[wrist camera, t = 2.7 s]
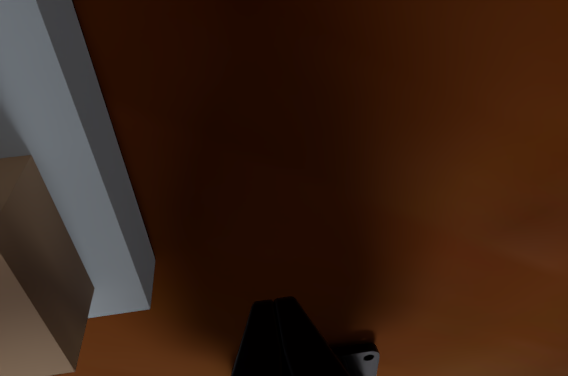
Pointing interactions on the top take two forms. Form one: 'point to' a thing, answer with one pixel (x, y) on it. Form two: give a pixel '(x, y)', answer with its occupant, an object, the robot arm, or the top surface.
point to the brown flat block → (37, 278)
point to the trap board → (73, 148)
